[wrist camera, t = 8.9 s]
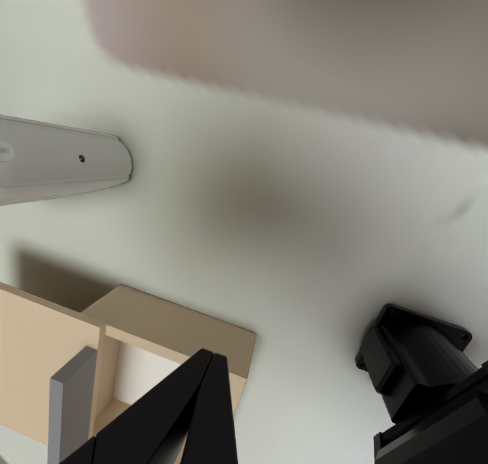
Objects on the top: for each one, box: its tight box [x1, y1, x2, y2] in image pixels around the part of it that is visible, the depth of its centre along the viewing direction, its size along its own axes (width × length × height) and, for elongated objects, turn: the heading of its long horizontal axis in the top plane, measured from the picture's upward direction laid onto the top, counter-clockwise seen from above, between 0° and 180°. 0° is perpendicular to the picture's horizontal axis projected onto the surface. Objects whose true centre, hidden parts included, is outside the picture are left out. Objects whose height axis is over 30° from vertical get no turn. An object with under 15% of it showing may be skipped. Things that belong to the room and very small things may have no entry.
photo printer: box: [0, 115, 132, 206], centre depth 15 cm, size 10×4×12 cm, turn 101°
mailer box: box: [81, 284, 256, 464], centre depth 23 cm, size 14×16×5 cm
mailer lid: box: [0, 282, 106, 464], centre depth 20 cm, size 14×16×4 cm
